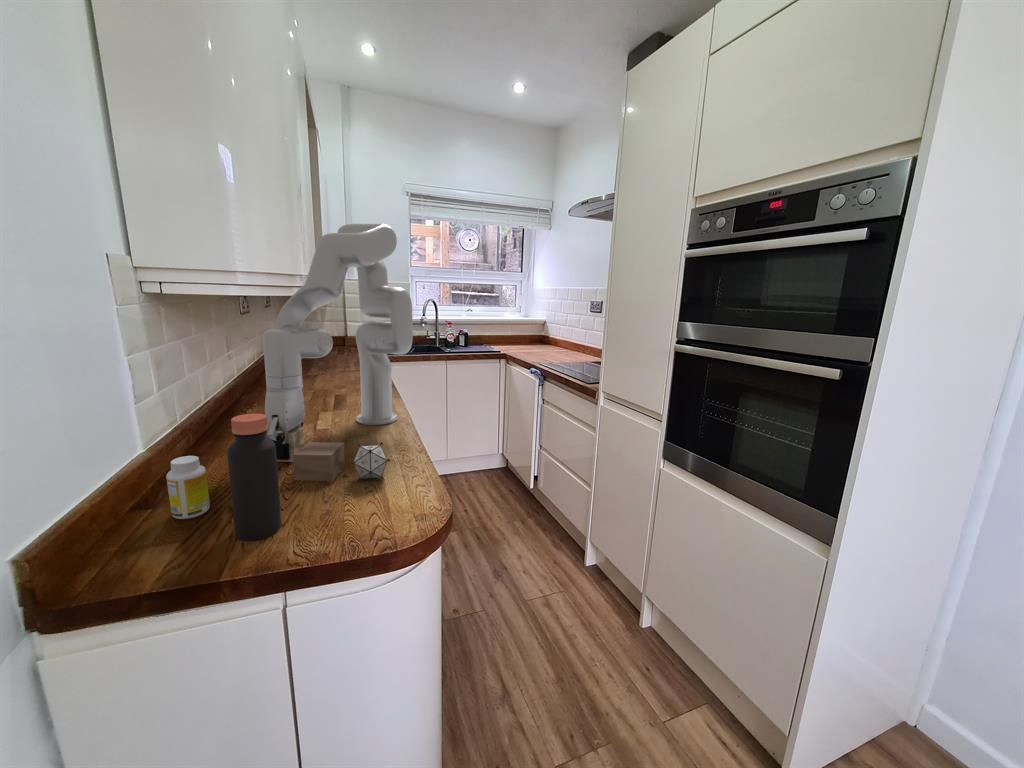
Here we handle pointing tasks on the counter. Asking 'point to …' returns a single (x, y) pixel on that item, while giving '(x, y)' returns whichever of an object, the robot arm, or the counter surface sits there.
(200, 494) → the supplement bottle
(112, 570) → the counter surface
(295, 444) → the pale wooden block
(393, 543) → the counter surface
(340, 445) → the walnut block
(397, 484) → the counter surface
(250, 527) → the water bottle
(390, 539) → the counter surface
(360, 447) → the game die
